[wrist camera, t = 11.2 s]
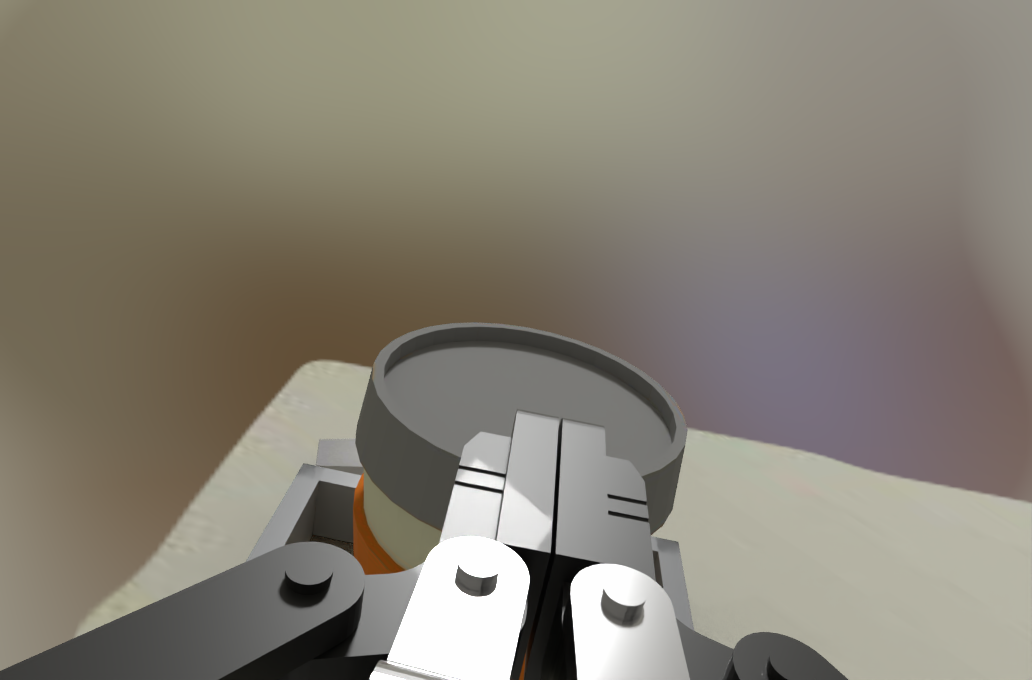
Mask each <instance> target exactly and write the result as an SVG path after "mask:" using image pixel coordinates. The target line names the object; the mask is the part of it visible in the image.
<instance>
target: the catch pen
mask: <svg viewBox="0 0 1032 680" xmlns="http://www.w3.org/2000/svg"><path fill="white" fill-rule="evenodd" d="M360 478H361V475H357V474H352V473H347V472H343V471H338V470H333V469H328V468H324V467H319V466H314V465H309V464H304V463H303V465H302V467H301V468H300V470H299V472H298V474H297V475H296V477H295V479H294V480H293V482H292V484H291V486H290V487H289V489H288V491H287V492H286V494H285V496H284V497H283V499H282V501H281V503H280V504H279V506H278V508H277V509H276V511H275V513H274V514H273V516H272V518H271V520H270V521H269V523H268V525H267V526H266V528H265V530H264V532H263V533H262V535H261V537H260V538H259V540H258V542H257V543H256V545H255V547H254V549H253V550H252V552H251V554H250V555H249V557H248V559H247V560H246V562H247V561H249V560H252V559H254V558H256V557H258V556H261V555H263V554H265V553H267V552H270V551H272V550H274V549H276V548H279V547H282V546H284V545H288V544H292V543H298V542H309V541H310V539H311V537H312V535H317V536H322V537H327V538H332V539H336V540H341V541H346V542H351V543H353V504H354V493H355V489H356V487H357V484H358V482H359V480H360ZM651 543H652V551H653V560H654V569H655V578H656V582H657V583H658V584H659V585H660V586H661V587H662V588H663V589H664V591H665V592H666V593H667V595H668V596H669V598H670V600H671V602H672V605H673V608H674V613H675V617H676V618H677V619H678V620H679V621H680V622H682V623H683V624H684V625H685V626H687V627H689V628H690V629H692V630H693V631H694V628H693V622H692V616H691V611H690V605H689V600H688V594H687V588H686V583H685V577H684V571H683V566H682V560H681V555H680V549H679V543H678V542H676V541H671V540H666V539H662V538H657V537H652V536H651Z"/></svg>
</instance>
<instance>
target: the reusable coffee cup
mask: <svg viewBox="0 0 1032 680" xmlns="http://www.w3.org/2000/svg"><path fill="white" fill-rule="evenodd" d="M517 409H520V410H525V411H530V412H536V413H541V414H546V415H551V416H556V417H559V424H560V421H561V419H562V418H567V419H572V420H577V421H582V422H587V423H592V424H597V425H602V426H604V427H605V446H606V456H609V457H614V458H619V459H624V460H629V461H631V463H632V464H633V465H634V467H635V468H636V470H637V471H638V472H639V474H640V475H641V477H642V478H643V480H644V481H645V489H646V498H647V503H646V506H647V507H648V516H649V520H648V523H649V525H650V534H651V535H652V534H653V533H654V532H655V531H657V530H658V529H659V528H660V527H662V526H663V524H664V523H665V521H666V519H667V518H668V516H669V514H670V513H671V511H672V509H673V503H674V498H675V493H676V488H677V483H678V478H679V473H680V468H681V463H682V458H683V453H684V448H685V443H686V436H687V427H686V422H685V418H684V415H683V413H682V412H681V410H680V408H679V407H678V405H677V403H676V401H675V400H674V399H673V398H672V397H671V396H670V395H669V394H668V392H667V391H666V390H665V389H664V388H663V387H662V386H661V385H659V384H658V383H657V382H656V381H654V380H653V379H652V378H650V377H649V376H648V375H646V374H645V373H644V372H643V371H641V370H639V369H638V368H636V367H634V366H633V365H631V364H629V363H628V362H626V361H624V360H623V359H620V358H618V357H616V356H614V355H612V354H610V353H608V352H606V351H604V350H602V349H599V348H596V347H594V346H591V345H589V344H586V343H583V342H581V341H578V340H575V339H571V338H567V337H564V336H561V335H557V334H554V333H550V332H546V331H541V330H536V329H532V328H527V327H519V326H512V325H505V324H492V323H453V324H452V323H451V324H444V325H437V326H431V327H426V328H423V329H419V330H416V331H413V332H409V333H407V334H405V335H403V336H401V337H399V338H397V339H395V340H393V341H392V342H391V343H389V344H388V345H387V346H386V347H385V348H384V349H382V350H381V351H380V353H379V355H378V357H377V359H376V361H375V362H374V364H373V368H372V371H371V375H370V379H369V383H368V386H367V390H366V394H365V398H364V401H363V405H362V409H361V413H360V416H359V420H358V424H357V430H356V440H355V444H356V448H357V452H358V456H359V460H360V463H361V464H362V466H363V468H364V473H363V474H362V475H361V478H360V480H359V482H358V484H357V487H356V489H355V493H354V504H353V549H354V557H355V558H356V559H357V561H358V562H359V563H360V565H361V566H362V568H363V571H364V574H365V575H376V574H390V573H398V572H402V571H406V570H409V569H412V568H415V567H416V566H418V565H420V564H422V563H424V562H425V561H426V560H427V558H428V556H429V554H430V553H431V552H432V550H433V549H434V548H436V547H437V546H438V544H439V542H440V538H441V534H442V530H443V526H444V522H445V518H446V514H447V510H448V507H449V503H450V499H451V495H452V491H453V487H454V484H455V479H456V475H457V472H458V468H459V464H460V460H461V456H462V452H463V448H464V445H466V444H467V443H468V442H469V441H470V440H471V439H473V438H474V437H475V436H476V435H477V434H478V433H480V432H486V433H491V434H496V435H501V436H506V437H511V434H512V429H513V424H514V420H515V415H516V411H517ZM558 428H559V426H558ZM525 657H526V654H525ZM524 668H525V658H524V662H523V666H522V670H521V674H520V678H519V680H523V679H524Z"/></svg>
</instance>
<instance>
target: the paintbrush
mask: <svg viewBox="0 0 1032 680" xmlns="http://www.w3.org/2000/svg"><path fill="white" fill-rule="evenodd" d="M355 440H356V439H319V444H318V452H317V460H316V466H320V467H324V468H328V469H333V470H338V471H343V472H347V473H352V474H357V475H362V474H363V473H364V468H363V466H362V464H361V463H360V460H359V456H358V452H357V448H356V444H355Z"/></svg>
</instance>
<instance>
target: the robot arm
mask: <svg viewBox="0 0 1032 680" xmlns="http://www.w3.org/2000/svg"><path fill="white" fill-rule="evenodd" d="M558 426H559V428H558ZM646 503H647V498H646V489H645V481H644V480H643V478H642V477H641V475H640V474H639V472H638V471H637V470H636V468H635V467H634V465H633V464H632V463H631V461H629V460H624V459H619V458H614V457H609V456H606V446H605V427H604V426H602V425H597V424H592V423H587V422H582V421H577V420H572V419H567V418H562V419H561V421H560V424H559V417H556V416H551V415H546V414H541V413H536V412H530V411H525V410H520V409H517V411H516V415H515V420H514V424H513V429H512V434H511V437H506V436H501V435H496V434H491V433H486V432H480V433H478V434H477V435H476V436H475V437H474V438H473V439H471V440H470V441H469V442H468V443H467V444H466V445H464V448H463V452H462V456H461V460H460V464H459V468H458V472H457V475H456V479H455V484H454V487H453V491H452V495H451V499H450V503H449V507H448V510H447V514H446V518H445V522H444V526H443V530H442V534H441V538H440V542H439V544H438V546H437V547H436V548H434V549H433V550H432V552H431V553H430V554H429V556H428V558H427V560H426V561H425V562H424V563H422V564H420V565H418V566H416V567H415V568H412V569H409V570H406V571H402V572H398V573H390V574H376V575H365V574H364V571H363V568H362V566H361V565H360V563H359V562H358V561H357V559H356V558H355V557H354V556H352V555H351V554H350V553H348V552H347V551H345V550H343V549H341V548H339V547H336V546H334V545H331V544H326V543H321V542H298V543H292V544H288V545H284V546H282V547H279V548H276V549H274V550H272V551H270V552H267V553H265V554H263V555H261V556H258V557H256V558H254V559H252V560H249V561H247V562H245V563H243V564H240V565H238V566H236V567H234V568H231V569H229V570H227V571H225V572H222V573H220V574H218V575H216V576H213V577H211V578H209V579H207V580H204V581H202V582H200V583H198V584H195V585H193V586H191V587H189V588H186V589H184V590H182V591H180V592H177V593H175V594H173V595H171V596H168V597H166V598H164V599H162V600H159V601H157V602H155V603H153V604H150V605H148V606H146V607H143V608H141V609H139V610H137V611H134V612H132V613H130V614H128V615H125V616H123V617H121V618H119V619H116V620H114V621H112V622H110V623H107V624H105V625H103V626H101V627H98V628H96V629H94V630H92V631H89V632H87V633H85V634H83V635H80V636H78V637H76V638H74V639H71V640H69V641H67V642H65V643H62V644H60V645H58V646H56V647H54V648H51V649H49V650H47V651H44V652H42V653H40V654H38V655H35V656H33V657H31V658H29V659H26V660H24V661H22V662H20V663H17V664H15V665H13V666H11V667H8V668H6V669H4V670H2V671H0V680H519V678H520V674H521V670H522V666H523V662H524V658H525V668H524V679H523V680H848V679H847V678H846V677H845V676H844V675H843V674H841V673H840V672H839V671H838V670H837V669H836V668H835V667H834V666H832V665H831V664H830V663H829V662H828V661H827V660H826V659H825V658H823V657H822V656H821V655H820V654H819V653H817V652H816V651H815V650H813V649H812V648H810V647H809V646H807V645H805V644H804V643H802V642H800V641H798V640H796V639H793V638H791V637H788V636H785V635H781V634H777V633H770V632H759V633H753V634H750V635H747V636H745V637H744V638H742V639H741V640H740V641H739V642H738V643H737V644H736V646H735V648H734V649H731V648H729V647H727V646H725V645H723V644H720V643H718V642H716V641H714V640H711V639H709V638H707V637H705V636H703V635H701V634H699V633H697V632H695V631H693V630H692V629H690V628H689V627H687V626H685V625H684V624H683V623H682V622H680V621H679V620H678V619H677V618H676V617H675V613H674V608H673V605H672V602H671V600H670V598H669V596H668V595H667V593H666V592H665V591H664V589H663V588H662V587H661V586H660V585H659V584H658V583H657V582H656V578H655V569H654V560H653V551H652V543H651V534H650V525H649V523H648V520H649V516H648V507H647V506H646ZM525 654H526V657H525Z"/></svg>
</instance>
